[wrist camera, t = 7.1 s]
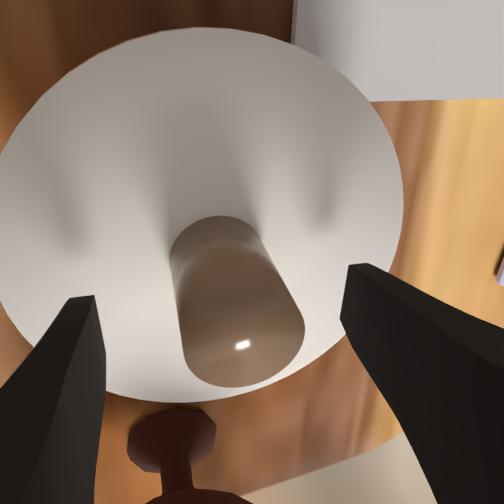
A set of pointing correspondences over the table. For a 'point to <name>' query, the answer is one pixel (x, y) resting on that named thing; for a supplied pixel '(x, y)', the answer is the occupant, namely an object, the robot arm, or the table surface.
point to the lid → (197, 208)
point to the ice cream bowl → (177, 455)
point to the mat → (408, 45)
